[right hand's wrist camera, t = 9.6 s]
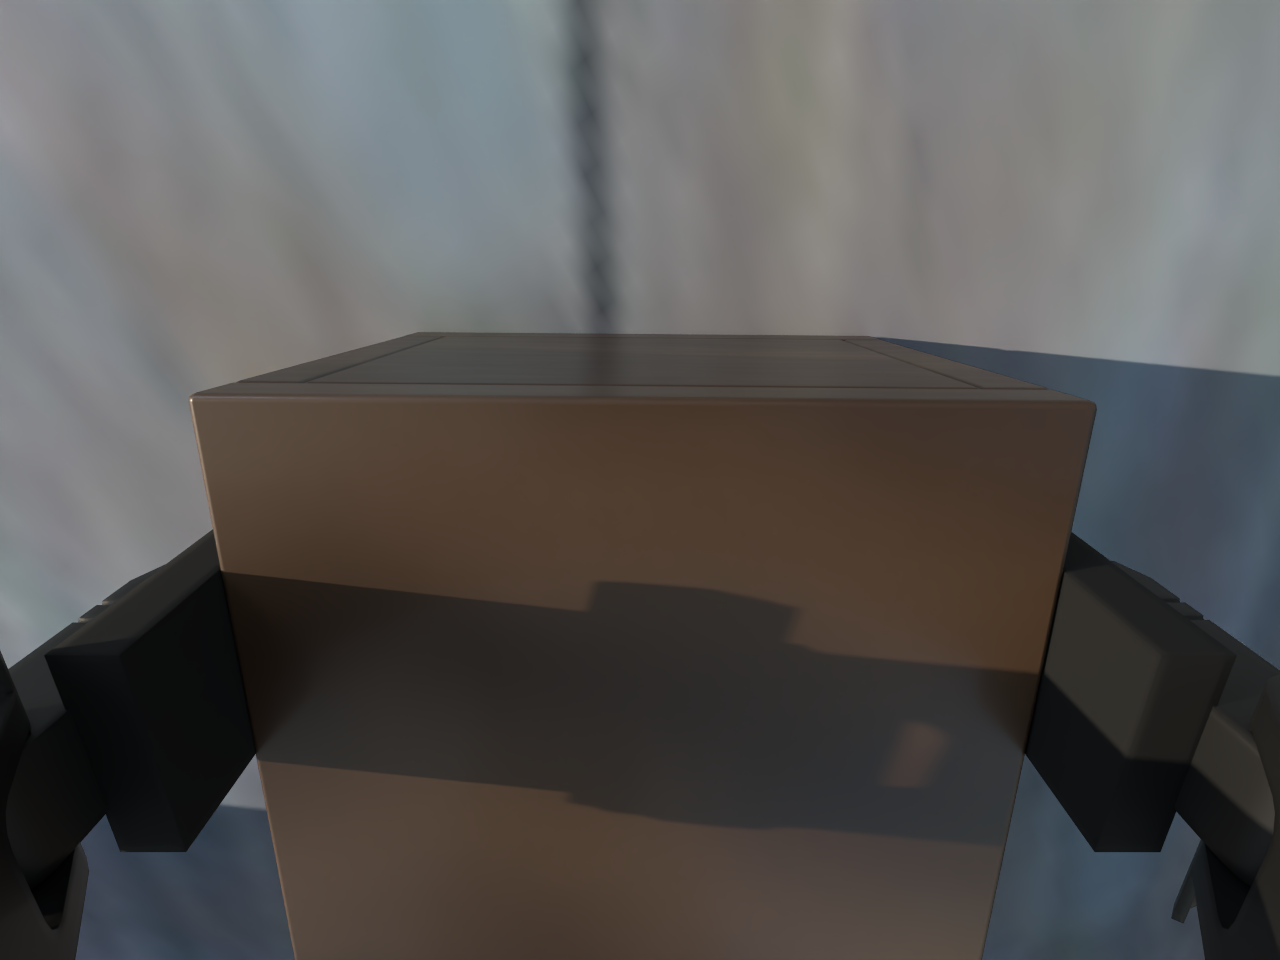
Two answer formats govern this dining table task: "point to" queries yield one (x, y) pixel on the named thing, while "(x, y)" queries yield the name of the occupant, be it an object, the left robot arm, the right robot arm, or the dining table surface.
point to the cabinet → (640, 639)
